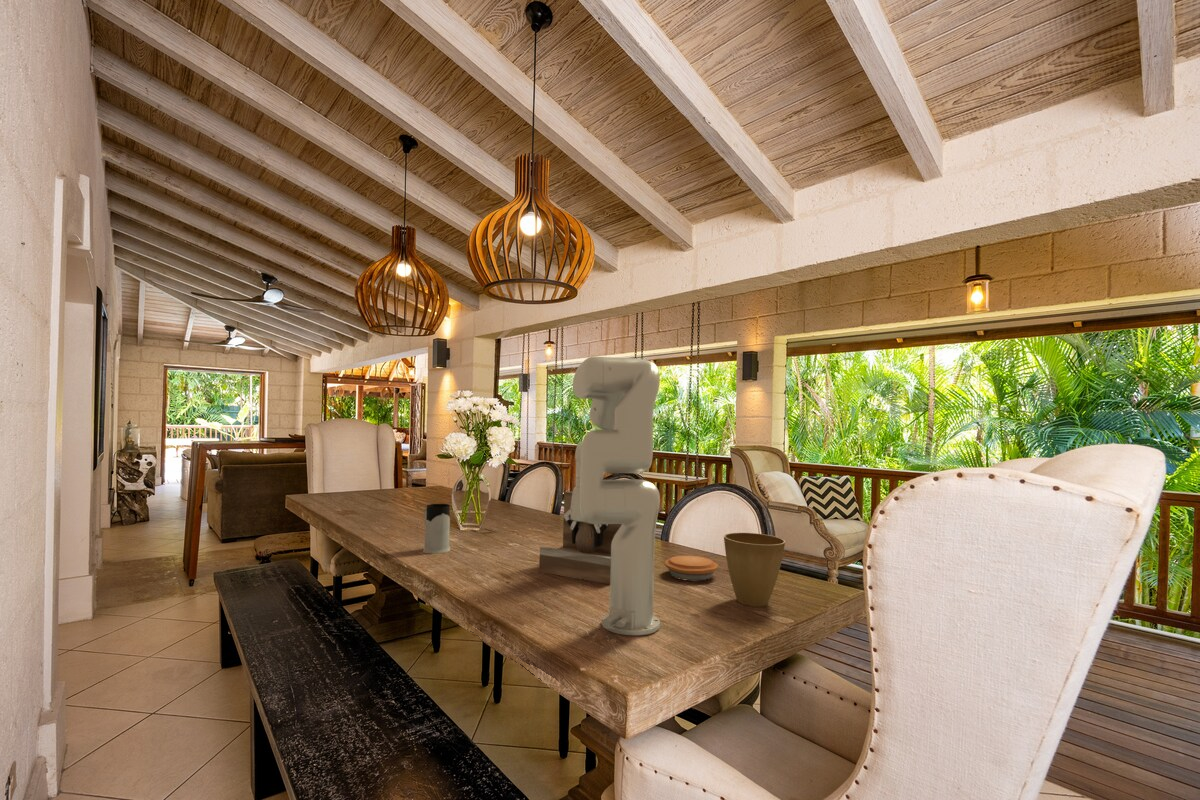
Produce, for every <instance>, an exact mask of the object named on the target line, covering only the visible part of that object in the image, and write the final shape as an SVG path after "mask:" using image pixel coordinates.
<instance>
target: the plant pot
mask: <svg viewBox="0 0 1200 800" xmlns="http://www.w3.org/2000/svg"><path fill="white" fill-rule="evenodd" d="M723 543H724V552H725V557H726V559H725V560H726V563H727V569H728V573H729V577H730V580H731V581H730V582H731V585H732V588H733V592H734V594H735V598H736V600H737V602H738V603H740V604H742V605H744V606H745V605H746V606H749V607H750V606H751V607H765V606H767V605H768V603H769V602H770V599H771V596H772V594H773V592H774V589H775V586H776V582H777V579H778V577H779V572H780V570H781V565H782V562H783V561H782V560H783V557H784V552H785V544H786V540H784V539H783V538H780V537H777V536H775V535H770V534H764V533H755V532H731V533H725V534H723Z"/></svg>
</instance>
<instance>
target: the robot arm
mask: <svg viewBox="0 0 1200 800" xmlns="http://www.w3.org/2000/svg"><path fill="white" fill-rule="evenodd" d="M660 381H661V380H660V371H659V369H658V366H657V365H656V364H655V362H654V361H653V362H652V361H651V360H647V359H641V358H634V357H631V358H630V357H611V356H591V357H587V358H586V359H584V361H583V362H582V363H580V364H579V366H577V369H575V373H574V376H573V380H572V390H573V395H575V397H576V398H578V399H581V400H582V399H583V400H592V401H591V405H590V410H589V420H590V421H591V423H592V424H593V425H594V426H595V427H597V428H599V429H593V430H590V431H588V432H587V433H586V434H585V435H584V436H583V440H582V441H580V442H578V443H577V444H576V448H575V451H574V452H575V454H574V455H575V458H574V459H575V487H573V490H572V492H573V494H572V499H571V509H570V510H569V511H567V512H566V513H565V514H564V513H563V519H564V518H565V519H566V521H567V523H568V525H569V526H570V529H571V530H572V543H573V544H575V543H576V542H575V538H576V534H577V531H578V530H579V528H578V527H579V525H580V523H581V522H584V523H590V524H594V526H595V529H596V531H597V533H595V547H599V546H601V545H602V543H603V532H604V531H605V529H606V528H607V527H608V526H609V525H610V524H622V525H621V527H620V528H619V530H618V531H617V532H616V534H615V536H614V538H613V540H612V544H611V568H610V584H609V613H606V614H605V615H604V616H603V617H602V619H601V625H602V627H603V629H606V630H607V631H609V632H610V633H614V634H617V635H622V636H623V635H624V636H633V637H634V636H645V635H650V634H653V633H656V632H657V631H659V630H660V628H661V620H660V619H659V618H658V617H657V616H656V615H654V590H655V589H654V588H655V587H654V584H655V583H654V580H655V540H656V529H657V521H658V516H659V510H660V504H661V501H660V500H661V497H660V496H661V495H660V491H659V489H658V487H657V485H655V484H654V483H652V482H651V481H649V480H645V479H633V478H632V479H626V478H625V479H621V478H620V479H604V476H605V475H606V474H639V473H644V472H647V471H648V470H650V468H651V466H652V464H653V454H654V415H653V414H654V407H655V404H656V403H655V402H656V399H657V396H658V393H659V390H660V389H659V388H660V383H661V382H660ZM570 516H571V517H570Z"/></svg>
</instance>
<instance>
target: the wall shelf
mask: <svg viewBox="0 0 1200 800" xmlns="http://www.w3.org/2000/svg"><path fill="white" fill-rule="evenodd" d="M563 493H564V494H563V515H564V514H565V513H566V512H567V511H569V510H570V509H571V499H572V494H573V491H569V490H567V491H564V492H563ZM570 517H571V516H570ZM582 524H583V522H581V523H580V525H579V527H578V528H580V527H581V526H582ZM621 525H622V524H610V525H609V526H608V527H607V528H606V529H605V531H604V532H603V543H602V545H601V546H599V547H597V549H596V550H595V551H594V552H593V553H581V552H580V551H579V550H578V549H577V547H576V543H575V544H573V543H572V530H571V529H570V526H569V525H568V523H567V521H566V519H565V518H564V517H563V526H562V527H563V528H562V529H563V530H562V546H561V547H557V548H554V547H548V546H540V547H539V558H538V559H539V563H538V564H539V565H538V566H539V567H538V569H539V570H538V572H539V573H546V574H551V575H555V576H556V575H557V576H562V577H567V578H573V579H577V578H578V579H579V580H582V579H584V581H588V580H589V582H593V581H594V583H599V584H605V585H610V568H611V544H612V540H613V538H614V536H615V534H616V532H617V531H618V530H619V528H620V527H621ZM593 526H594V524H593ZM594 527H595V526H594Z"/></svg>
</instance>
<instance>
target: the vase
mask: <svg viewBox="0 0 1200 800" xmlns="http://www.w3.org/2000/svg"><path fill="white" fill-rule="evenodd" d="M595 533H597V531H596V529H595V527H594V526H593V524H590V523H584V522H583V524H582V526H581V527H580V528H579V530H578V531H577V534H576V538H575V542H576V547H577V549H578V550H579V551H580V552H581V553H593V552H594V551H595V550H596V549H597V547H595Z"/></svg>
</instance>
